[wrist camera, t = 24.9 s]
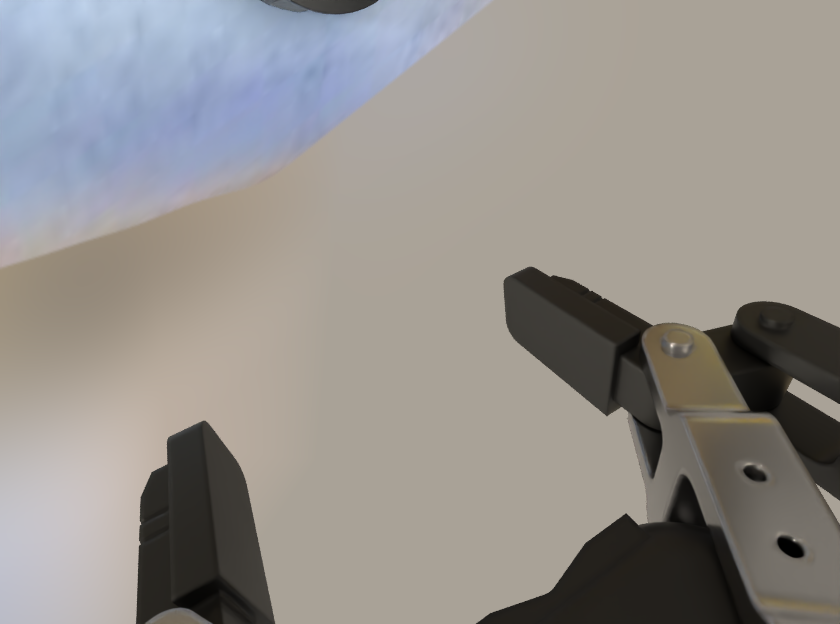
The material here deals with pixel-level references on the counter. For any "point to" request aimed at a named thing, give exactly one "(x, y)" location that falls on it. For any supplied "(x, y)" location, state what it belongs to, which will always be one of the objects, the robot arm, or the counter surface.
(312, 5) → the lid
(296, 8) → the pot
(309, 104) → the counter surface
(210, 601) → the robot arm
